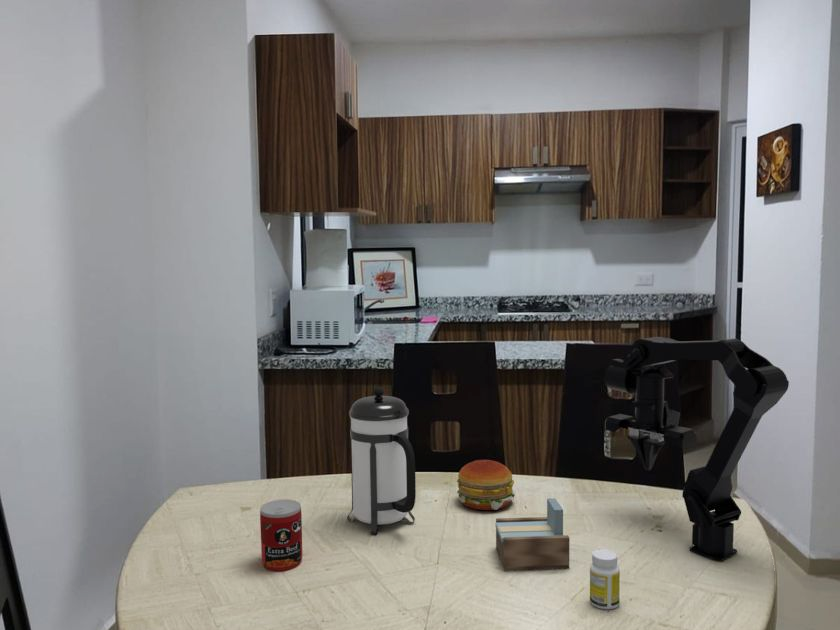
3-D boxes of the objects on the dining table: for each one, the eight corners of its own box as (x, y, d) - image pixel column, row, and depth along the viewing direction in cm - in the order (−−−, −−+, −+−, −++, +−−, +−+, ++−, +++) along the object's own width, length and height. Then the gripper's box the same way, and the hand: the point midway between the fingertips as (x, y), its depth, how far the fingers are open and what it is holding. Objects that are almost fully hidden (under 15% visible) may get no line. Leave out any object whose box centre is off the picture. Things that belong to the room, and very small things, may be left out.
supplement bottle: (614, 595, 116) (614, 547, 116) (623, 609, 112) (624, 560, 111) (586, 596, 116) (586, 548, 116) (594, 610, 112) (594, 561, 111)
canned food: (262, 574, 126) (260, 516, 125) (260, 556, 133) (259, 501, 132) (304, 568, 128) (303, 511, 127) (300, 551, 135) (299, 497, 134)
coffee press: (334, 534, 143) (331, 393, 140) (359, 506, 159) (356, 379, 156) (415, 542, 139) (413, 396, 136) (432, 512, 154) (431, 381, 152)
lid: (554, 524, 134) (554, 497, 134) (563, 540, 127) (564, 511, 127) (495, 526, 134) (495, 498, 133) (501, 542, 127) (501, 513, 126)
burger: (449, 496, 165) (449, 456, 164) (502, 490, 168) (502, 451, 167) (467, 517, 152) (467, 473, 151) (524, 510, 155) (524, 467, 154)
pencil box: (556, 545, 136) (556, 516, 136) (569, 569, 126) (569, 537, 126) (496, 547, 136) (495, 518, 135) (504, 571, 126) (504, 539, 125)
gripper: (712, 398, 141) (710, 472, 143) (634, 385, 156) (633, 452, 158) (681, 406, 135) (680, 484, 136) (603, 392, 149) (603, 462, 151)
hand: (648, 469), depth 145 cm, fingers closed
